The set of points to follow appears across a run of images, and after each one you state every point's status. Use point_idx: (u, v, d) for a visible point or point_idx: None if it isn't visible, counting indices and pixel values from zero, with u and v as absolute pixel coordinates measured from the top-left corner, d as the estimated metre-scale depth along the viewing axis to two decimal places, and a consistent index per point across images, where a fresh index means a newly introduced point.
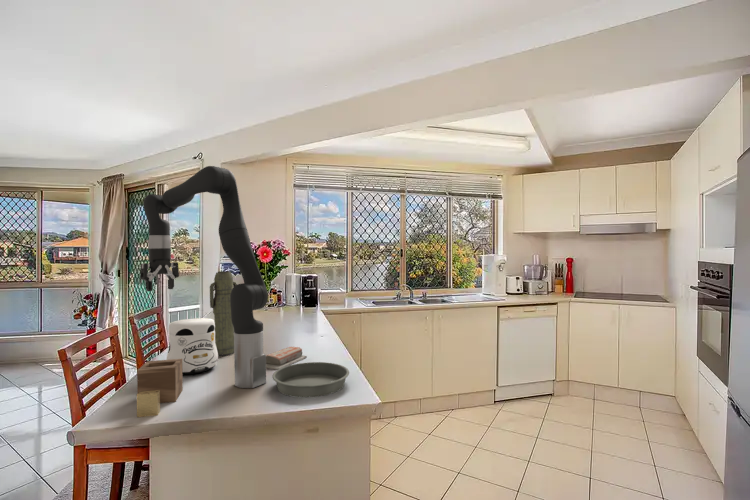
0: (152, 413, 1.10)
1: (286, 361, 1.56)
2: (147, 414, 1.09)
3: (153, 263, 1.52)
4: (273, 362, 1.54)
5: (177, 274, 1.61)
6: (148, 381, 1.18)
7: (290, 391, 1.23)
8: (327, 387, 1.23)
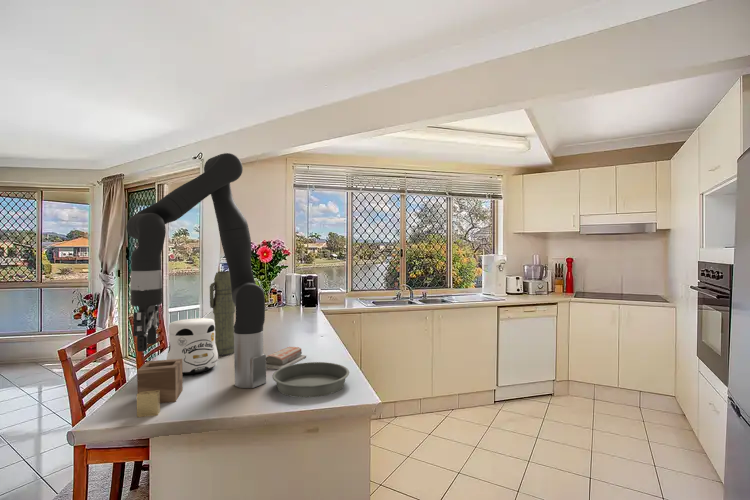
0: (152, 413, 1.10)
1: (287, 361, 1.56)
2: (147, 414, 1.09)
3: None
4: (275, 362, 1.53)
5: None
6: (148, 381, 1.18)
7: (290, 391, 1.23)
8: (327, 387, 1.23)
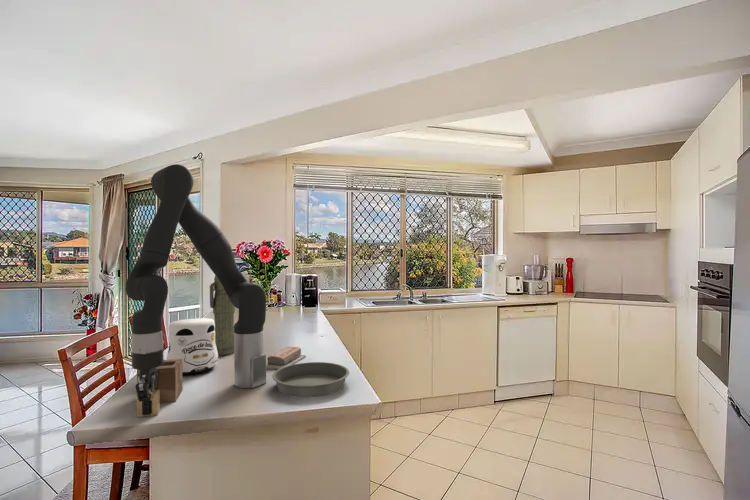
0: (152, 413, 1.10)
1: (289, 361, 1.56)
2: None
3: None
4: (277, 362, 1.53)
5: None
6: None
7: (290, 391, 1.23)
8: (327, 387, 1.23)
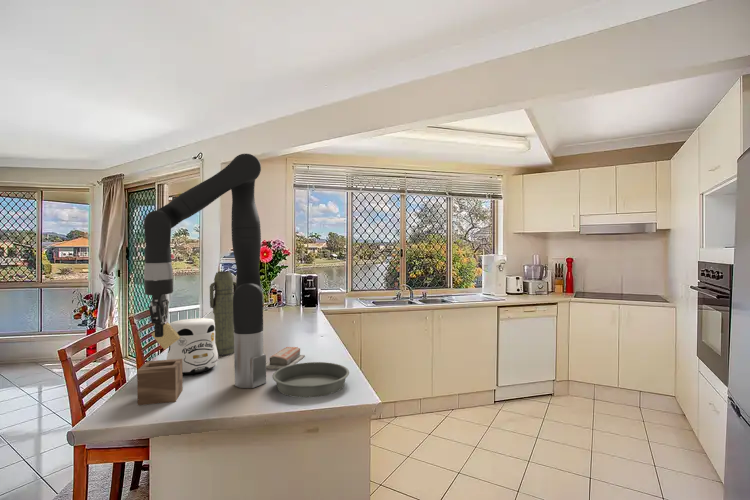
0: (174, 340, 1.22)
1: (291, 361, 1.56)
2: (170, 343, 1.22)
3: None
4: (279, 362, 1.53)
5: None
6: (148, 381, 1.18)
7: (290, 391, 1.23)
8: (327, 387, 1.23)
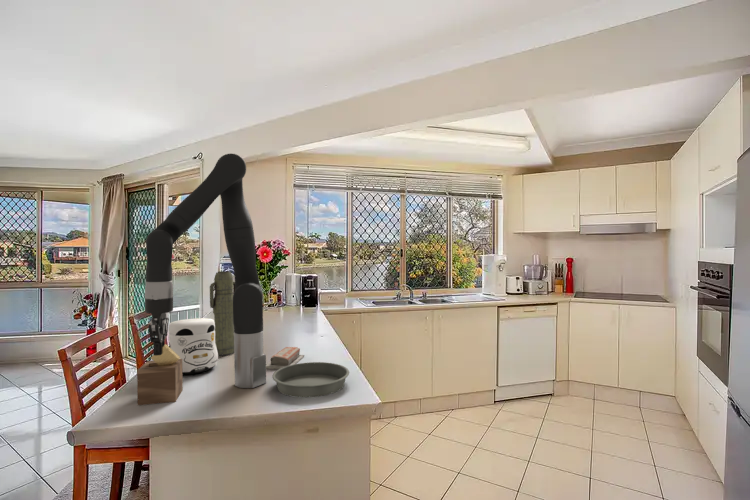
0: (173, 361, 1.23)
1: (291, 361, 1.56)
2: (171, 364, 1.23)
3: None
4: (280, 363, 1.53)
5: None
6: (148, 381, 1.18)
7: (290, 391, 1.23)
8: (327, 387, 1.23)
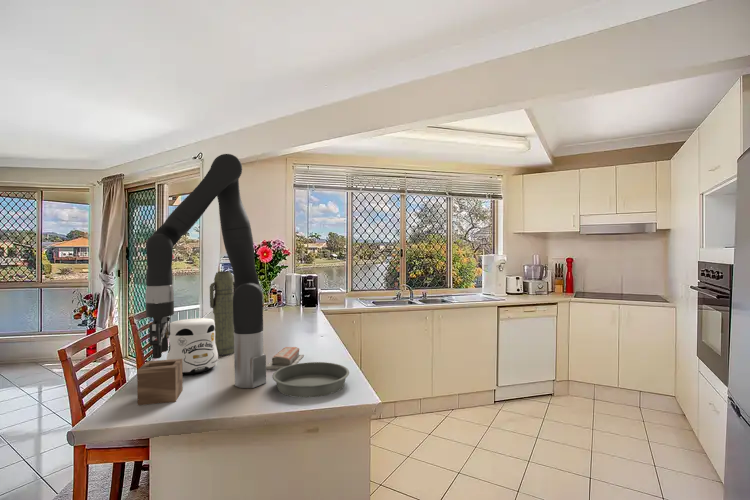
0: None
1: (292, 361, 1.57)
2: None
3: None
4: (282, 363, 1.53)
5: None
6: (148, 381, 1.18)
7: (290, 391, 1.23)
8: (327, 387, 1.23)
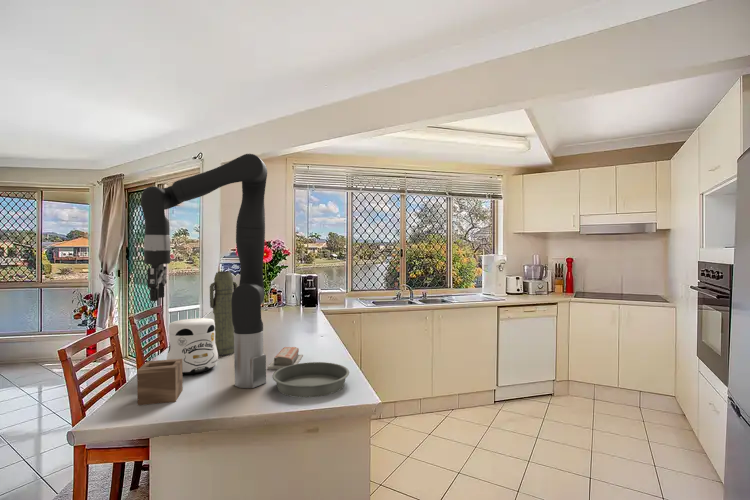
0: None
1: (294, 360, 1.57)
2: None
3: None
4: (284, 363, 1.53)
5: None
6: (148, 381, 1.18)
7: (290, 391, 1.23)
8: (327, 387, 1.23)
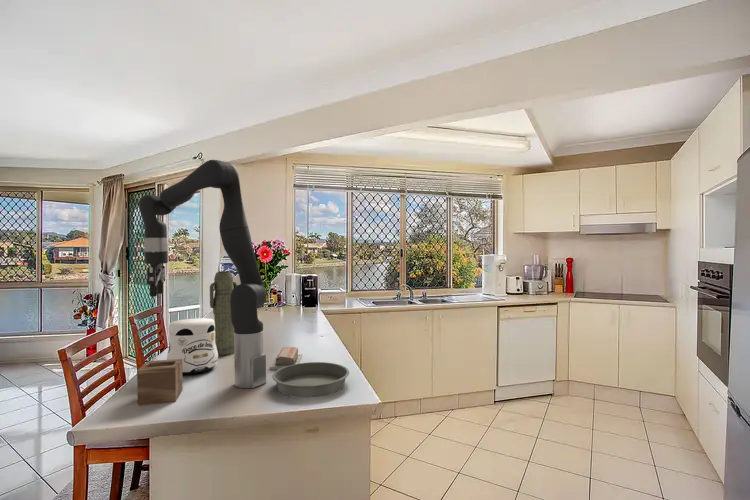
0: None
1: (295, 360, 1.57)
2: None
3: None
4: (286, 363, 1.53)
5: None
6: (148, 381, 1.18)
7: (290, 391, 1.23)
8: (327, 387, 1.23)
